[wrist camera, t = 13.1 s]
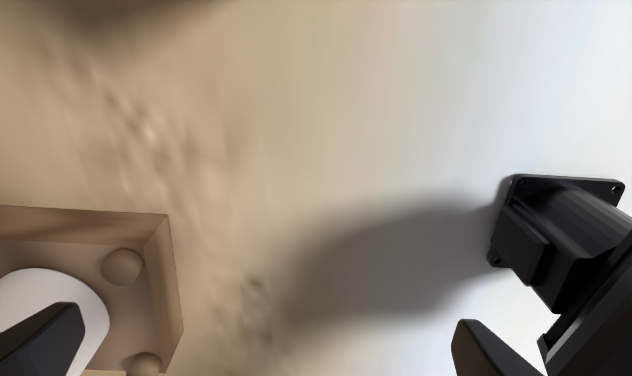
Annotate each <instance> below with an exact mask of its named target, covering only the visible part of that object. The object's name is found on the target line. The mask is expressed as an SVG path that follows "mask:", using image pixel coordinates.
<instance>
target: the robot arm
mask: <svg viewBox="0 0 632 376" xmlns="http://www.w3.org/2000/svg"><path fill="white" fill-rule="evenodd" d="M522 181H525V182H524V184H522V185H520V183H521V182H522ZM614 187H615V188H614ZM613 188H614V189H613ZM612 189H613V190H612ZM624 190H625V185H624V184H623V183H622V182H620V181H618V180H615V179H600V178H584V177H567V176H550V175H534V174H519V175H517V176H516V177H515V178H514V179H513V181H512V183H511V186H510V189H509V192H508V195H507V198H506V201H505V204H504V207H503V208H502V209H501V212H500V215H499V218H498V221H497V224H496V227H495V230H494V233H493V236H492V239H491V247H490V250H489V253H488V256H487V261H488V263H489V264H490V265H491V266H492V267H498V268H511V269H512V270H513V271H514V272H515V274H516V275H517V276H518V277H519V279H520V280H521V281H522V282H523V284H524V285H525V286H530V287H532V289H533V290H534V291H535V292H536V294H537V295H538V296H539V297H540V298H541V300H542V301H543V302H544V303H545V305H546V306H547V307H548V308H549V310H550V311H551V312H552V313H553V314H561V315H560V317H559V318H558V319H557V320H556V322H555V323H554V324H553V325H552V326H551V328H550V329H549V330H548V331H547V333H546V334H544V333H543V334H542V335H541V336H540V338H539V339H538V340H537V344H538V347H539V350H540V353H541V356H542V359H543V362H544V365H545V368H546V371H547V374H548V376H632V217H630V216H629V215H627V214H625V213H624V212H622V211H621V210H619V209H617V208H616V207H617V205H618V203H619V200H620V198H621V196H622V194H623V192H624ZM496 258H498V259H497V260H494V259H496ZM84 336H85V324H84V321H83V317H82V314H81V311H80V307H79V305H78V304H77V303H75V302H62V301H60V302H55V303H53V304H51V305H50V306H48V307H46V308H44V309H42V310H41V311H39V312H37V313H35V314H33V315H32V316H30V317H28V318H26V319H24V320H23V321H21V322H19V323H17V324H15V325H14V326H12V327H10V328H8V329H6V330H5V331H3V332H1V333H0V376H66V374H67V372H68V370H69V368H70V366H71V364H72V362H73V360H74V358H75V356H76V354H77V351H78V349H79V347H80V345H81V343H82V341H83V339H84ZM451 352H452V357H453V361H454V365H455V369H456V373H457V376H544V375H543V374H541V373H540V372H539V371H538V370H537V369H535V368H534V367H533V366H532V365H531V364H530V363H528V362H527V361H526V360H525V359H524V358H522V357H521V356H520V355H519V354H518V353H517V352H515V351H514V350H513V349H512V348H511V347H509V346H508V345H507V344H506V343H505V342H504V341H502V340H501V339H500V338H499V337H498V336H496V335H495V334H494V333H493V332H492V331H491V330H489V329H488V328H487V327H486V326H485V325H483V324H482V323H481V322H480V321H478V320H475V319H460V320H459V321H458V324H457V327H456V330H455V333H454V336H453V339H452V343H451Z"/></svg>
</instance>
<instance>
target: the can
mask: <svg viewBox="0 0 632 376" xmlns="http://www.w3.org/2000/svg"><path fill="white" fill-rule="evenodd" d="M60 301H62V302H75V303H77V304H78V305H79V307H80V311H81V314H82V317H83V321H84V324H85V336H84V339H83V341H82V343H81V345H80V347H79V349H78V351H77V354H76V356H75V358H74V360H73V362H72V364H71V366H70V368H69V370H68V372H67V374H66V376H80V375H81V373H82V372H83V370H84V369H85V367H86V366H87V364H88V363H89V361H90V360H91V358H92V357H93V355H94V354H95V352H96V351H97V349H98V348H99V346H100V345H101V343H102V341H103V340H104V338H105V336H106V335H107V333H108V330H109V315H108V311H107V308H106V305H105V303H104V301H103V299H102V298H101V297H100V295H99V294H98V293H97V292H96V291H95V290H94V289H93V288H92V287H91V286H90V285H88V284H87V283H86V282H84V281H83V280H81V279H79V278H77V277H75V276H73V275H71V274H69V273H66V272H63V271H59V270H55V269H48V268H29V269H21V270H17V271H14V272H11V273H9V274H7V275H5V276H4V277H2V278H1V279H0V333H1V332H3V331H5V330H6V329H8V328H10V327H12V326H14V325H15V324H17V323H19V322H21V321H23V320H24V319H26V318H28V317H30V316H32V315H33V314H35V313H37V312H39V311H41V310H42V309H44V308H46V307H48V306H50V305H51V304H53V303H55V302H60Z"/></svg>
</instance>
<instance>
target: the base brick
mask: <svg viewBox="0 0 632 376" xmlns="http://www.w3.org/2000/svg"><path fill="white" fill-rule="evenodd" d="M29 268H48V269H55V270H59V271H63V272H66V273H69V274H71V275H73V276H75V277H77V278H79V279H81V280H83V281H84V282H86V283H87V284H88V285H90V286H91V287H92V288H93V289H94V290H95V291H96V292H97V293H98V294H99V295H100V297H101V298H102V299H103V301H104V303H105V305H106V308H107V311H108V315H109V330H108V333H107V335H106V336H105V338H104V340H103V341H102V343H101V345H100V346H99V348H98V349H97V351H96V352H95V354H94V355H93V357H92V358H91V360H90V361H89V363H88V364H87V366H86V367H85V369H90V370H113V371H127V372H126V376H157V375H158V373H166V370H167V368H168V366H169V363H170V361H171V359H172V356H173V354H174V352H175V350H176V347H177V345H178V343H179V340H180V338H181V336H182V333H183V331H184V329H183V322H182V315H181V307H180V300H179V292H178V285H177V277H176V270H175V262H174V255H173V247H172V240H171V233H170V225H169V218H168V215H162V214H144V213H126V212H108V211H90V210H72V209H54V208H36V207H18V206H0V279H1V278H2V277H4V276H5V275H7V274H9V273H11V272H14V271H17V270H21V269H29Z"/></svg>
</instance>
